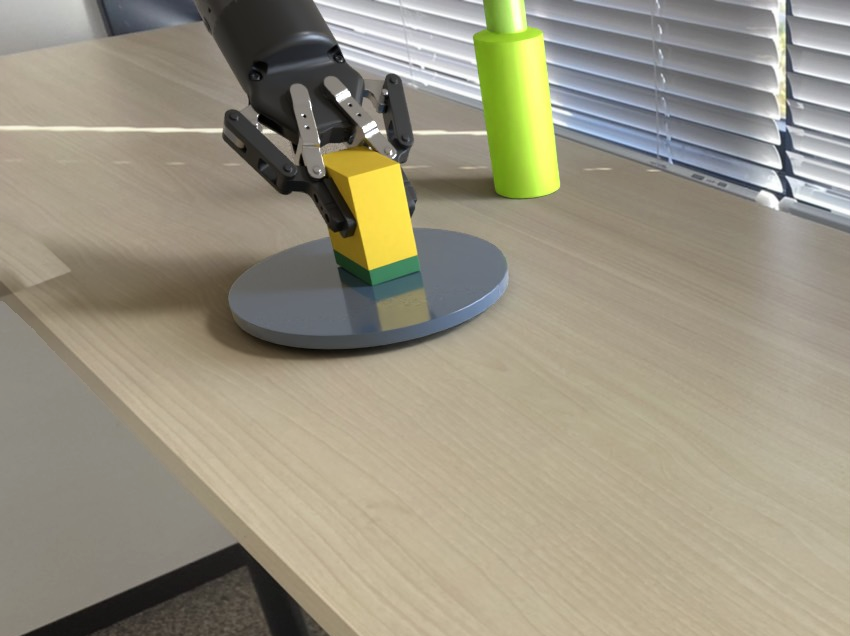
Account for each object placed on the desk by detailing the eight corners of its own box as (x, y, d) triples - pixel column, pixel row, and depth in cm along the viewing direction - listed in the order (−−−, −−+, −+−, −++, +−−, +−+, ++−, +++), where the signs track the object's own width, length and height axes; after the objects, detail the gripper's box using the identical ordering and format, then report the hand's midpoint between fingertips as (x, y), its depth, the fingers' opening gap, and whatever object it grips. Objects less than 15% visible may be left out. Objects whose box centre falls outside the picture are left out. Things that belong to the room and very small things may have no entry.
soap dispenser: (507, 206, 102) (471, -48, 90) (488, 183, 107) (451, -60, 95) (571, 195, 103) (544, -54, 92) (549, 173, 109) (521, -66, 97)
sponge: (372, 286, 84) (347, 177, 79) (336, 263, 87) (310, 157, 82) (420, 270, 86) (399, 163, 81) (383, 248, 89) (361, 144, 84)
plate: (365, 383, 75) (360, 361, 74) (175, 317, 84) (168, 296, 83) (565, 277, 89) (562, 257, 88) (382, 230, 98) (378, 211, 97)
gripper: (164, -2, 76) (294, 223, 76) (361, -36, 84) (479, 169, 83) (161, 69, 83) (281, 277, 82) (344, 32, 90) (454, 223, 90)
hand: (380, 221), depth 83 cm, fingers closed on sponge, 4 cm apart
